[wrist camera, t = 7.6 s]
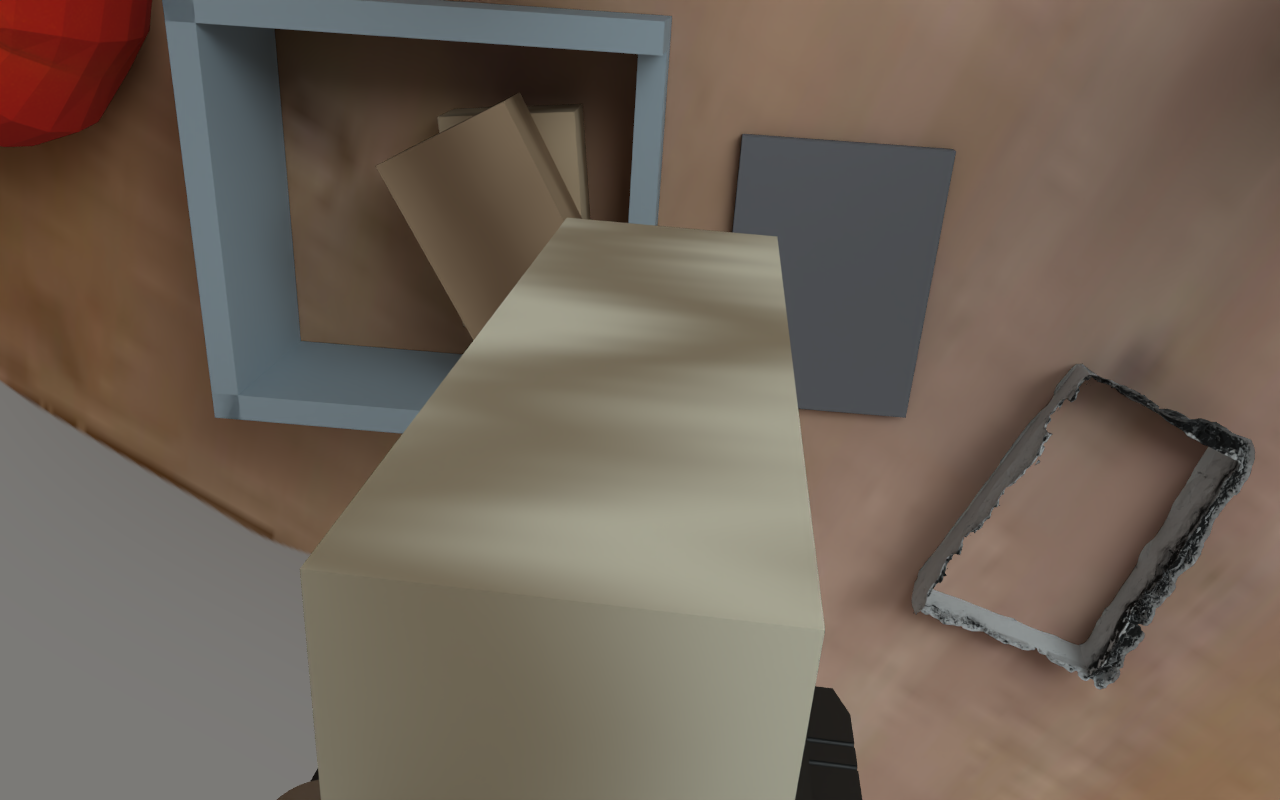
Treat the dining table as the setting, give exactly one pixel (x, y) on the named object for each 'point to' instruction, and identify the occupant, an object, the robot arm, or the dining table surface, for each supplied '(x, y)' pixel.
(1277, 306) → the dining table surface
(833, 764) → the robot arm
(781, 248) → the mat
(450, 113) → the offcut block lower
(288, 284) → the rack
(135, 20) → the tomato
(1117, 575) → the dining table surface
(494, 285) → the offcut block upper
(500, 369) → the beige hardcover book
